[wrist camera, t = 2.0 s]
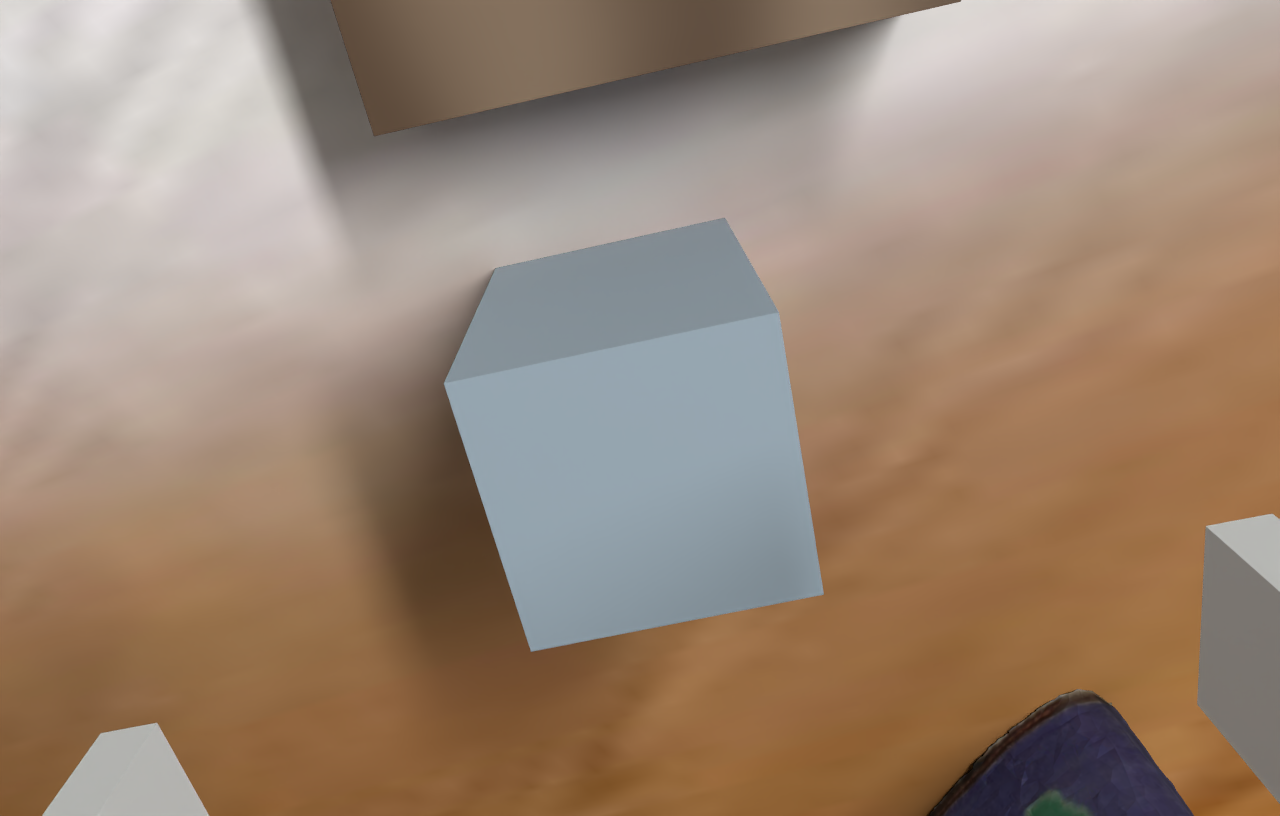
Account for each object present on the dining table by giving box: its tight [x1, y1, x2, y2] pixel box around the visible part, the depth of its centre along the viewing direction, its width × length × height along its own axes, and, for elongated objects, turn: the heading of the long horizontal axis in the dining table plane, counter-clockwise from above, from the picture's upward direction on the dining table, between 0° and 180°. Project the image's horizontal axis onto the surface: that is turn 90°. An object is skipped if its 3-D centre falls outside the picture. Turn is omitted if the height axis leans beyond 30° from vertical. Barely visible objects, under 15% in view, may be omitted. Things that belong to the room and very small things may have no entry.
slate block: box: [444, 218, 824, 652], centre depth 21 cm, size 6×6×8 cm
